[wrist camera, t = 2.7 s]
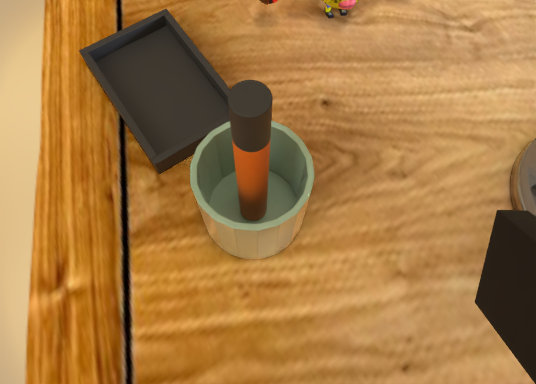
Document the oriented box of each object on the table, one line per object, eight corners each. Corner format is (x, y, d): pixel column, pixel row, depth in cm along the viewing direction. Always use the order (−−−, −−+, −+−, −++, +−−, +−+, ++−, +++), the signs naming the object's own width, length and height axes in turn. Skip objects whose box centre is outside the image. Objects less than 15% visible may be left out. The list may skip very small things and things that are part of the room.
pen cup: (254, 148, 42) (253, 96, 34) (323, 211, 39) (340, 172, 32) (182, 209, 39) (163, 169, 31) (252, 281, 37) (251, 257, 29)
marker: (253, 190, 39) (250, 71, 24) (272, 208, 39) (281, 98, 23) (234, 208, 39) (217, 97, 23) (253, 226, 38) (249, 125, 22)
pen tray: (86, 63, 45) (78, 50, 43) (169, 22, 47) (166, 8, 46) (159, 174, 40) (154, 164, 39) (248, 122, 43) (247, 111, 41)
